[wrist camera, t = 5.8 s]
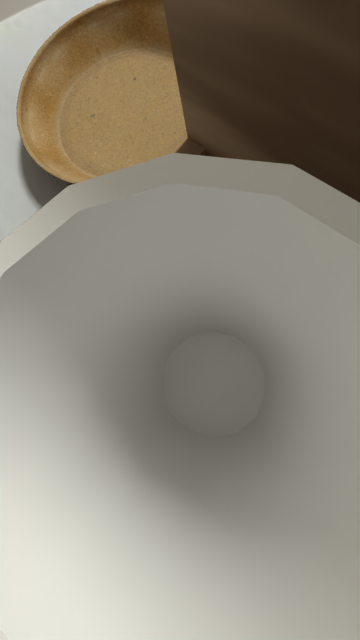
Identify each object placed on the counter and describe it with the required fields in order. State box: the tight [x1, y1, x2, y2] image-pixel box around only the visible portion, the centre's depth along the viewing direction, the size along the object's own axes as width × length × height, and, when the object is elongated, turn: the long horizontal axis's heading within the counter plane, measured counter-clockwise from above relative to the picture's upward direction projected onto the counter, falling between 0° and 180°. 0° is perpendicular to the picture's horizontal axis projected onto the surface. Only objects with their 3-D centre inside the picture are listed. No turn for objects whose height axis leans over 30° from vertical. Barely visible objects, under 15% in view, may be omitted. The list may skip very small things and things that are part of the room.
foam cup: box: [0, 153, 360, 640], centre depth 11 cm, size 10×9×13 cm
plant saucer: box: [17, 0, 188, 184], centre depth 20 cm, size 15×15×3 cm
